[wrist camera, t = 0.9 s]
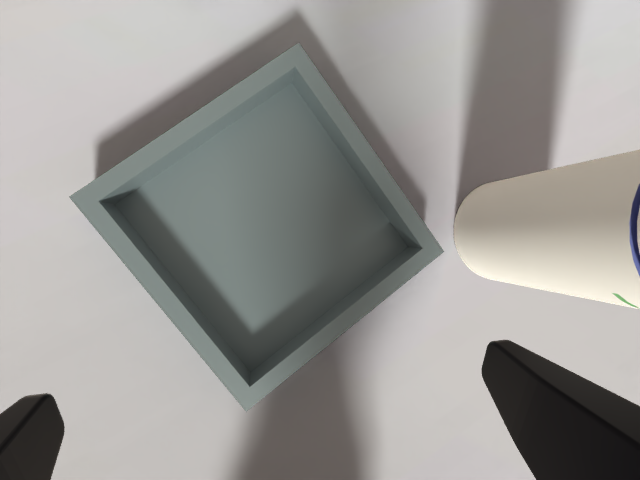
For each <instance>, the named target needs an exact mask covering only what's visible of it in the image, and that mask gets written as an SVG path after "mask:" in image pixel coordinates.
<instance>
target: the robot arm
mask: <svg viewBox="0 0 640 480" xmlns="http://www.w3.org/2000/svg"><path fill="white" fill-rule="evenodd" d="M482 377H483V380H484V382H485V384H486V386H487V388H488V390H489V392H490V394H491V396H492V398H493V400H494V402H495V404H496V407H497V409H498V411H499V413H500V415H501V417H502V419H503V421H504V423H505V425H506V427H507V429H508V431H509V433H510V435H511V437H512V439H513V441H514V443H515V445H516V446H517V448H518V450H519V452H520V453H521V455H522V457H523V458H524V460H525V462H526V463H527V465H528V467H529V468H530V470H531V472H532V473H533V475H534V477H535V478H536V480H640V406H638V405H636V404H634V403H632V402H630V401H628V400H626V399H624V398H622V397H620V396H618V395H616V394H614V393H612V392H611V391H609V390H607V389H605V388H603V387H601V386H599V385H597V384H595V383H593V382H591V381H589V380H587V379H585V378H583V377H581V376H579V375H577V374H575V373H573V372H571V371H569V370H567V369H565V368H563V367H561V366H559V365H557V364H555V363H553V362H551V361H549V360H547V359H545V358H543V357H541V356H539V355H537V354H535V353H533V352H531V351H529V350H527V349H525V348H523V347H521V346H520V345H518V344H516V343H514V342H512V341H509V340H499V341H492V342H490V343H489V344H488V346H487V350H486V354H485V357H484V361H483V365H482ZM63 436H64V422H63V419H62V417H61V414H60V412H59V409H58V407H57V404H56V401H55V399H54V397H53V396H52V395H51V394H47V393H45V394H37V395H29V396H25V397H23V398H21V399H20V400H18V401H17V402H16V403H14V404H13V405H12V406H10V407H9V408H8V409H6V410H5V411H4V412H2V413H1V414H0V480H50V479H51V476H52V473H53V470H54V466H55V463H56V460H57V456H58V453H59V450H60V446H61V443H62V440H63Z"/></svg>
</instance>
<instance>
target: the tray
mask: <svg viewBox="0 0 640 480" xmlns="http://www.w3.org/2000/svg"><path fill="white" fill-rule="evenodd" d="M70 199H71V200H72V201H73V202H74V203H75V205H76V206H77V207H78V208H79V210H80V211H81V212H82V213H83V214H84V216H85V217H86V218H87V219H88V220H89V222H90V223H91V224H92V225H93V226H94V228H95V229H96V230H97V231H98V233H99V234H100V235H101V236H102V237H103V239H104V240H105V241H106V242H107V243H108V245H109V246H110V247H111V248H112V250H113V251H114V252H115V253H116V254H117V256H118V257H119V258H120V259H121V260H122V262H123V263H124V264H125V265H126V267H127V268H128V269H129V270H130V271H131V273H132V274H133V275H134V276H135V277H136V279H137V280H138V281H139V282H140V284H141V285H142V286H143V287H144V288H145V290H146V291H147V292H148V293H149V294H150V296H151V297H152V298H153V299H154V301H155V302H156V303H157V304H158V305H159V307H160V308H161V309H162V310H163V311H164V313H165V314H166V315H167V316H168V318H169V319H170V320H171V321H172V322H173V324H174V325H175V326H176V327H177V328H178V330H179V331H180V332H181V333H182V334H183V336H184V337H185V338H186V339H187V341H188V342H189V343H190V344H191V345H192V347H193V348H194V349H195V350H196V351H197V353H198V354H199V355H200V356H201V358H202V359H203V360H204V361H205V362H206V364H207V365H208V366H209V367H210V368H211V370H212V371H213V372H214V373H215V375H216V376H217V377H218V378H219V379H220V381H221V382H222V383H223V384H224V385H225V387H226V388H227V389H228V390H229V392H230V393H231V394H232V395H233V396H234V398H235V399H236V400H237V401H238V402H239V404H240V405H241V406H242V407H243V409H244V410H245V411H246V412H247V411H248V410H249V409H250V408H252V407H253V406H254V405H255V404H256V403H258V402H259V401H260V400H261V399H263V398H264V397H265V396H266V395H268V394H269V393H270V392H271V391H273V390H274V389H275V388H276V387H277V386H279V385H280V384H281V383H282V382H284V381H285V380H286V379H287V378H289V377H290V376H291V375H292V374H294V373H295V372H296V371H297V370H298V369H300V368H301V367H302V366H303V365H305V364H306V363H307V362H308V361H310V360H311V359H312V358H313V357H314V356H316V355H317V354H318V353H319V352H321V351H322V350H323V349H324V348H326V347H327V346H328V345H329V344H331V343H332V342H333V341H334V340H335V339H337V338H338V337H339V336H340V335H342V334H343V333H344V332H345V331H347V330H348V329H349V328H350V327H352V326H353V325H354V324H355V323H356V322H358V321H359V320H360V319H361V318H363V317H364V316H365V315H366V314H368V313H369V312H370V311H371V310H373V309H374V308H375V307H376V306H377V305H379V304H380V303H381V302H382V301H384V300H385V299H386V298H387V297H389V296H390V295H391V294H392V293H393V292H395V291H396V290H397V289H398V288H400V287H401V286H402V285H403V284H405V283H406V282H407V281H408V280H410V279H411V278H412V277H413V276H414V275H416V274H417V273H418V272H419V271H421V270H422V269H423V268H424V267H426V266H427V265H428V264H429V263H431V262H432V261H433V260H434V259H435V258H437V257H438V256H439V255H440V254H442V253H443V252H444V251H443V249H442V248H441V246H440V245H439V244H438V242H437V241H436V239H435V238H434V236H433V235H432V233H431V232H430V231H429V229H428V228H427V226H426V225H425V223H424V222H423V220H422V219H421V218H420V216H419V215H418V213H417V212H416V210H415V209H414V208H413V206H412V205H411V203H410V202H409V200H408V199H407V197H406V196H405V195H404V193H403V192H402V190H401V189H400V187H399V186H398V185H397V183H396V182H395V180H394V179H393V177H392V176H391V174H390V173H389V172H388V170H387V169H386V167H385V166H384V164H383V163H382V161H381V160H380V159H379V157H378V156H377V154H376V153H375V151H374V150H373V149H372V147H371V146H370V144H369V143H368V141H367V140H366V138H365V137H364V136H363V134H362V133H361V131H360V130H359V128H358V127H357V126H356V124H355V123H354V121H353V120H352V118H351V117H350V115H349V114H348V113H347V111H346V110H345V108H344V107H343V105H342V104H341V102H340V101H339V100H338V98H337V97H336V95H335V94H334V92H333V91H332V90H331V88H330V87H329V85H328V84H327V82H326V81H325V79H324V78H323V77H322V75H321V74H320V72H319V71H318V69H317V68H316V67H315V65H314V64H313V62H312V61H311V59H310V58H309V56H308V55H307V54H306V52H305V51H304V49H303V48H302V46H301V45H300V43H297V44H296V45H294V46H293V47H291V48H290V49H288V50H287V51H285V52H284V53H282V54H281V55H279V56H278V57H276V58H275V59H273V60H272V61H270V62H269V63H267V64H266V65H264V66H263V67H262V68H260V69H259V70H257V71H256V72H254V73H253V74H251V75H250V76H248V77H247V78H245V79H244V80H242V81H241V82H239V83H238V84H236V85H235V86H233V87H232V88H230V89H229V90H227V91H226V92H224V93H223V94H221V95H220V96H218V97H217V98H215V99H214V100H212V101H211V102H210V103H208V104H207V105H205V106H204V107H202V108H201V109H199V110H198V111H196V112H195V113H193V114H192V115H190V116H189V117H187V118H186V119H184V120H183V121H181V122H180V123H178V124H177V125H175V126H174V127H172V128H171V129H169V130H168V131H166V132H165V133H163V134H162V135H160V136H159V137H157V138H156V139H155V140H153V141H152V142H150V143H149V144H147V145H146V146H144V147H143V148H141V149H140V150H138V151H137V152H135V153H134V154H132V155H131V156H129V157H128V158H126V159H125V160H123V161H122V162H120V163H119V164H117V165H116V166H114V167H113V168H111V169H110V170H108V171H107V172H105V173H104V174H102V175H101V176H100V177H98V178H97V179H95V180H94V181H92V182H91V183H89V184H88V185H86V186H85V187H83V188H82V189H80V190H79V191H77V192H76V193H74V194H73V195H71V196H70Z"/></svg>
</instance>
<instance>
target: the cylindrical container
mask: <svg viewBox="0 0 640 480" xmlns="http://www.w3.org/2000/svg"><path fill="white" fill-rule="evenodd" d="M454 240H455V245H456V249H457V251H458V253H459V256H460V257H461V259H462V260H463V262H464V263H465V265H466V266H467V267H468V268H469V269H470V270H471V271H473V272H474V273H476V274H477V275H479V276H481V277H484V278H486V279H491V280H496V281H501V282H506V283H511V284H516V285H521V286H526V287H531V288H536V289H541V290H546V291H551V292H556V293H562V294H567V295H572V296H577V297H582V298H587V299H592V300H597V301H602V302H607V303H612V304H617V305H622V306H627V307H632V308H637V309H640V150H636V151H632V152H627V153H622V154H618V155H613V156H609V157H604V158H599V159H595V160H590V161H586V162H581V163H576V164H572V165H567V166H563V167H558V168H554V169H549V170H545V171H540V172H535V173H531V174H526V175H522V176H517V177H513V178H508V179H504V180H499V181H495V182H490V183H486V184H483V185H481V186H479V187H477V188H476V189H474V190H473V191H472V192H470V193H469V194H468V196H467V197H466V198H465V199H464V200H463V202H462V203H461V205H460V207H459V209H458V211H457V214H456V217H455V222H454Z"/></svg>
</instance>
